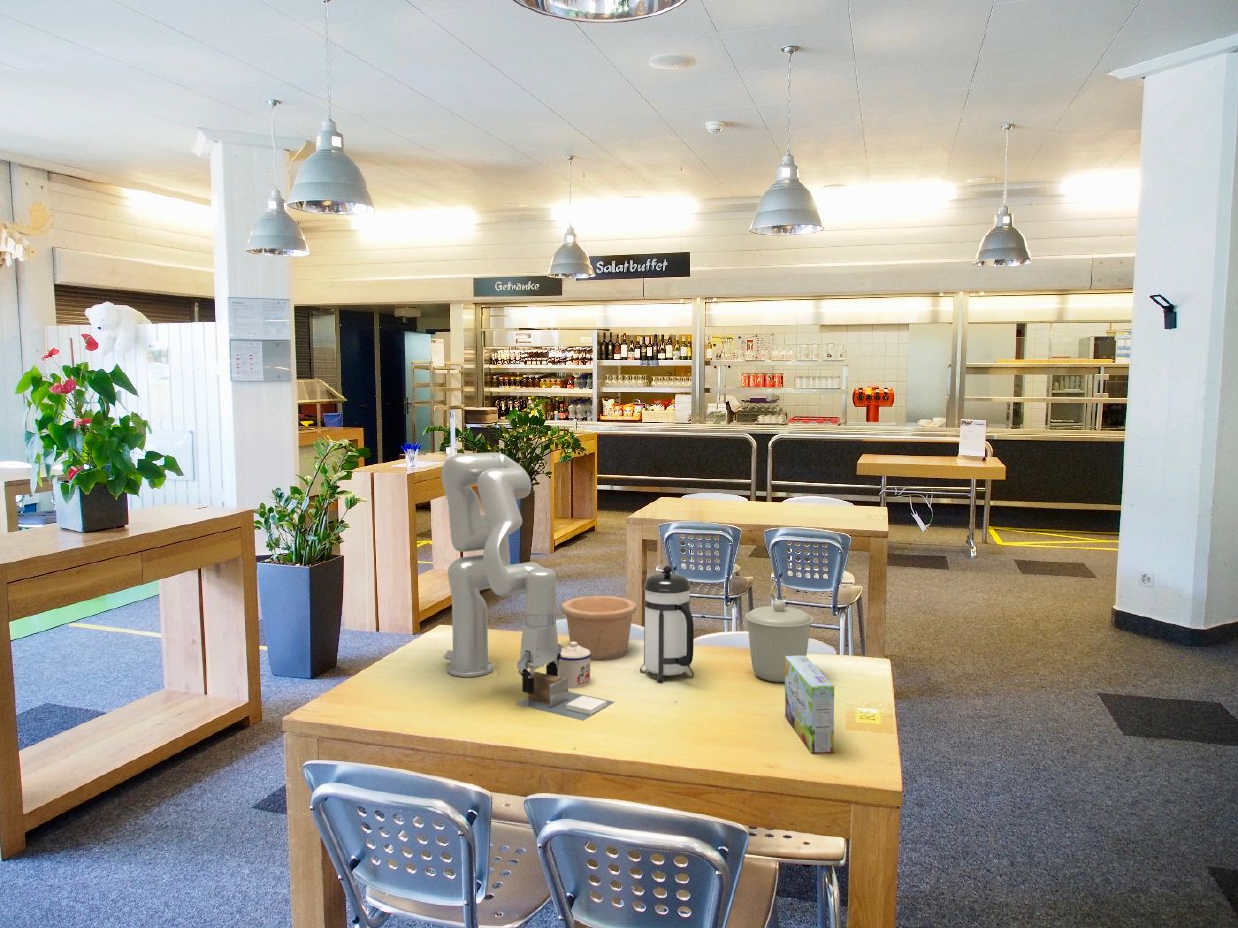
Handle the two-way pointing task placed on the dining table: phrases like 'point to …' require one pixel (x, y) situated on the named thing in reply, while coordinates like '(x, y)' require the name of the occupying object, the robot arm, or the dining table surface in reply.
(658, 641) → the coffee press
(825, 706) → the snack box
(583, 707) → the tile
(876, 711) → the dining table surface
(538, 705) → the slate board
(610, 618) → the pottery
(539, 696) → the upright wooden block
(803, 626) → the canister
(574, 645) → the teacup with lid
